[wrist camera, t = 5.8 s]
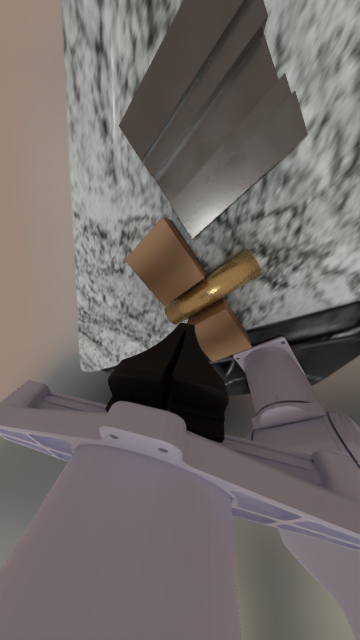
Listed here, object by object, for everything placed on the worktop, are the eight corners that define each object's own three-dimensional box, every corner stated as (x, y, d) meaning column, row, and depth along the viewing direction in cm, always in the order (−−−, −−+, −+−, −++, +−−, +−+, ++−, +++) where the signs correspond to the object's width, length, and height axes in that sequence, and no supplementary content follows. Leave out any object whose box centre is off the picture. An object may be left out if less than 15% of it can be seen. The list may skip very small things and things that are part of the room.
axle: (244, 248, 16) (249, 248, 13) (257, 272, 17) (265, 276, 14) (168, 302, 21) (161, 310, 19) (181, 318, 22) (175, 328, 19)
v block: (292, 150, 11) (307, 134, 10) (194, 238, 16) (192, 238, 14) (232, -31, 8) (237, -106, 7) (131, 141, 13) (118, 125, 11)
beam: (246, 332, 21) (252, 347, 18) (212, 346, 24) (212, 362, 21) (171, 220, 16) (162, 217, 13) (138, 256, 18) (124, 260, 15)
